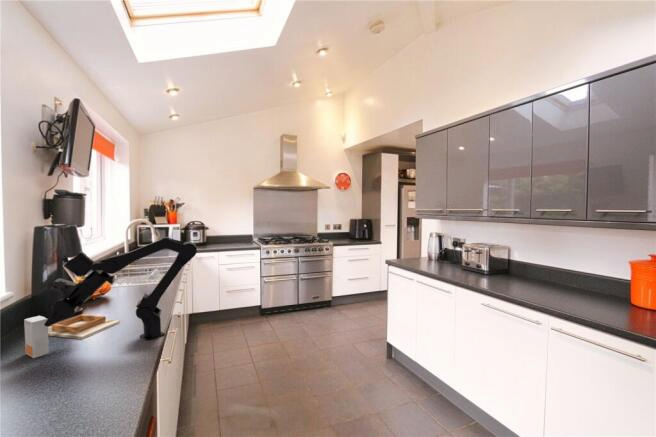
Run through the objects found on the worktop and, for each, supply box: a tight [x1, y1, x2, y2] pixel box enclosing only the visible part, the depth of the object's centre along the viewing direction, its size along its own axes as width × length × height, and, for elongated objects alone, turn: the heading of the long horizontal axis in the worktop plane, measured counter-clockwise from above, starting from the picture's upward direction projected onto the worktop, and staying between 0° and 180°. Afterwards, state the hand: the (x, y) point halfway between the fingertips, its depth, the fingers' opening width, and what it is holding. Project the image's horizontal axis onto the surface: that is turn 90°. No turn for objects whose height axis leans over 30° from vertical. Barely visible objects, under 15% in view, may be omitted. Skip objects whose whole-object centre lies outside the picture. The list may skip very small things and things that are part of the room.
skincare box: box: [23, 315, 50, 359], centre depth 104 cm, size 6×4×12 cm
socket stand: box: [48, 313, 121, 340], centre depth 125 cm, size 22×16×3 cm
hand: (50, 320), depth 105 cm, fingers open, 9 cm apart
